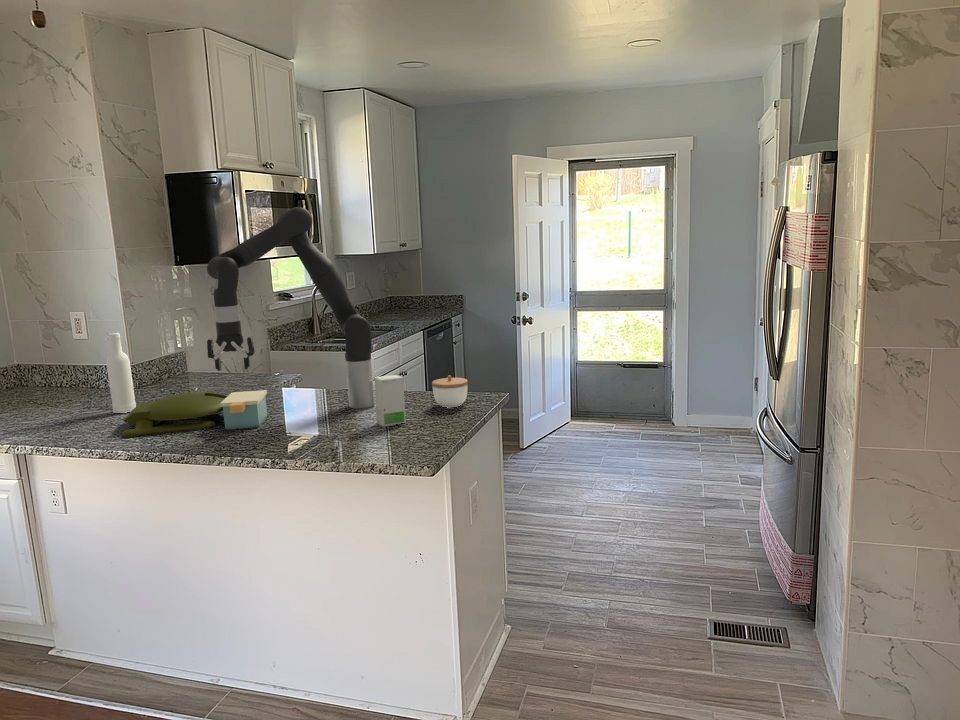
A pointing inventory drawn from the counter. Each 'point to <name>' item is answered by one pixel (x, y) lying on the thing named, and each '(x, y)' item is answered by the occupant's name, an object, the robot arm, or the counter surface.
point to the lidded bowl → (450, 391)
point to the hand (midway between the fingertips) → (233, 369)
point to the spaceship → (173, 413)
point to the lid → (242, 400)
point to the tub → (246, 416)
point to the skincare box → (389, 400)
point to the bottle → (120, 377)
